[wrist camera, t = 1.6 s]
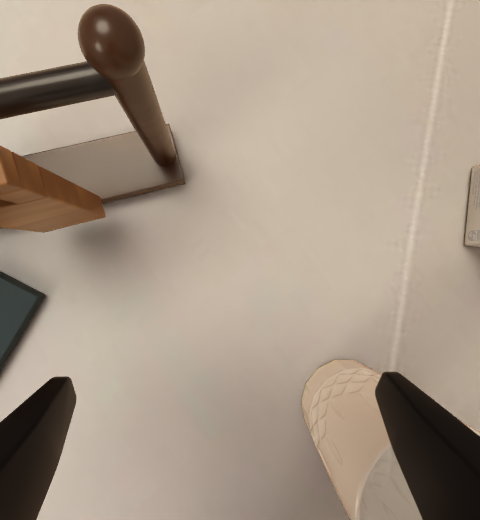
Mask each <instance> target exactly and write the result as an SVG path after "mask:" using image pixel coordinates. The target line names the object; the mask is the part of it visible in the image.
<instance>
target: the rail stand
mask: <svg viewBox="0 0 480 520" xmlns="http://www.w3.org/2000/svg"><path fill="white" fill-rule="evenodd" d="M78 41H79V45H80V48H81V51H82V53H83V55H84V57H85V59H86V60H87V61H86V62H81V63H76V64H71V65H66V66H61V67H56V68H51V69H46V70H41V71H36V72H31V73H26V74H21V75H16V76H10V77H5V78H0V119H4V118H9V117H13V116H18V115H23V114H28V113H32V112H37V111H42V110H47V109H51V108H56V107H61V106H66V105H71V104H75V103H80V102H85V101H90V100H94V99H99V98H104V97H109V96H113V95H115V97H116V98H117V100H118V102H119V103H120V105H121V107H122V108H123V110H124V112H125V113H126V115H127V117H128V118H129V120H130V122H131V123H132V125H133V127H134V128H135V130H136V131H134V132H129V133H125V134H120V135H116V136H111V137H107V138H102V139H98V140H93V141H89V142H84V143H80V144H75V145H71V146H66V147H62V148H57V149H53V150H48V151H44V152H39V153H35V154H30V155H26V156H22V157H24V158H26V159H28V160H30V161H31V162H33V163H35V164H37V165H39V166H41V167H43V168H45V169H47V170H49V171H51V172H53V173H55V174H57V175H59V176H61V177H63V178H65V179H67V180H69V181H71V182H73V183H75V184H76V185H78V186H80V187H82V188H84V189H86V190H88V191H90V192H92V193H94V194H96V195H98V196H100V198H101V201H102V204H103V203H107V202H111V201H115V200H120V199H124V198H128V197H132V196H136V195H140V194H144V193H148V192H153V191H157V190H161V189H165V188H169V187H173V186H177V185H181V184H185V180H184V176H183V172H182V169H181V165H180V161H179V158H178V154H177V150H176V147H175V143H174V139H173V136H172V132H171V129H170V125H169V124H165V121H164V118H163V115H162V112H161V109H160V106H159V103H158V100H157V97H156V94H155V91H154V88H153V85H152V82H151V79H150V77H149V74H148V71H147V68H146V65H145V62H144V56H145V46H144V41H143V37H142V34H141V32H140V30H139V28H138V26H137V25H136V23H135V22H134V20H133V19H132V18H131V17H130V16H129V15H128V14H127V13H126V12H124V11H123V10H121V9H120V8H118V7H115V6H112V5H108V4H99V5H95V6H93V7H91V8H89V9H88V10H87V11H86V12H85V13H84V14H83V16H82V18H81V20H80V22H79V26H78ZM0 228H2V227H0Z"/></svg>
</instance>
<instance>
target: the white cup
mask: <svg viewBox="0 0 480 520" xmlns="http://www.w3.org/2000/svg"><path fill="white" fill-rule="evenodd" d="M381 375H382V374H381V373H377V372H376V371H374V370H373V369H371V368H369V367H367V366H365V365H363V364H361V363H359V362H357V361H355V360H353V359H351V360H333V361H331V362H329V363H327V364H325V365H323V366H321V367H319V368H318V369H317V370H316V371H315V372H314V374H313V375H312V376H311V377H310V379H309V380H308V381H307V382H306V384H305V388H304V392H303V396H302V400H301V404H302V409H303V414H304V419H305V422H306V424H307V426H308V429H309V431H310V433H311V435H312V438H313V440H314V443H315V446H316V448H317V451H318V453H319V455H320V457H321V459H322V462H323V464H324V466H325V469H326V471H327V473H328V475H329V477H330V479H331V482H332V484H333V486H334V488H335V490H336V492H337V494H338V496H339V498H340V501H341V503H342V505H343V507H344V509H345V511H346V513H347V515H348V518H349V520H423V519H422V517H421V515H420V512H419V510H418V508H417V505H416V503H415V501H414V499H413V496H412V494H411V492H410V489H409V487H408V485H407V482H406V480H405V478H404V475H403V473H402V471H401V468H400V466H399V464H398V461H397V459H396V456H395V454H394V452H393V449H392V446H391V443H390V440H389V437H388V434H387V431H386V428H385V425H384V422H383V419H382V416H381V413H380V410H379V406H378V403H377V400H376V397H375V389H376V386H377V384H378V382H379V379H380V377H381ZM462 423H463V422H462ZM464 424H465V423H464ZM465 425H466V424H465ZM466 426H467V427H469V428H470V429H471V430H472V431H474V432H475V433H476V434H478V435H479V436H480V432H478V431H476V430H475V429H473V428H471V427H470V426H468V425H466Z"/></svg>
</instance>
